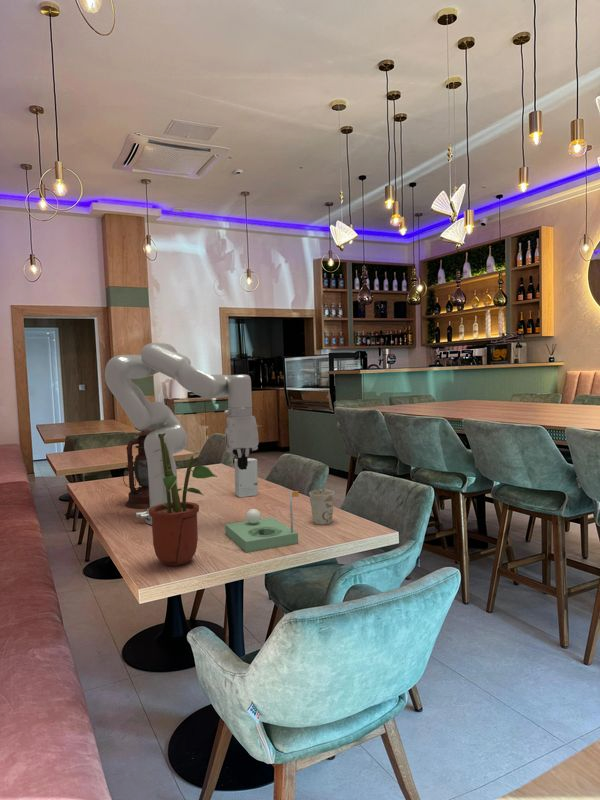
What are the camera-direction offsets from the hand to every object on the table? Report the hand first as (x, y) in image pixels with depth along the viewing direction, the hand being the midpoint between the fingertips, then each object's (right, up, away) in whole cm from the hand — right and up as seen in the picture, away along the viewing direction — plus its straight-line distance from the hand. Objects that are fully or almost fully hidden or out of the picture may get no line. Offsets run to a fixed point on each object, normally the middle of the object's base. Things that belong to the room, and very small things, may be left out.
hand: (242, 468), depth 180 cm
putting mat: (+7, -20, -12) cm, 24 cm away
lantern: (-40, -18, +37) cm, 57 cm away
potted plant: (-13, -21, -29) cm, 38 cm away
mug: (+25, -18, +5) cm, 31 cm away
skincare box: (-3, -17, +45) cm, 48 cm away
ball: (+4, -14, -7) cm, 16 cm away
